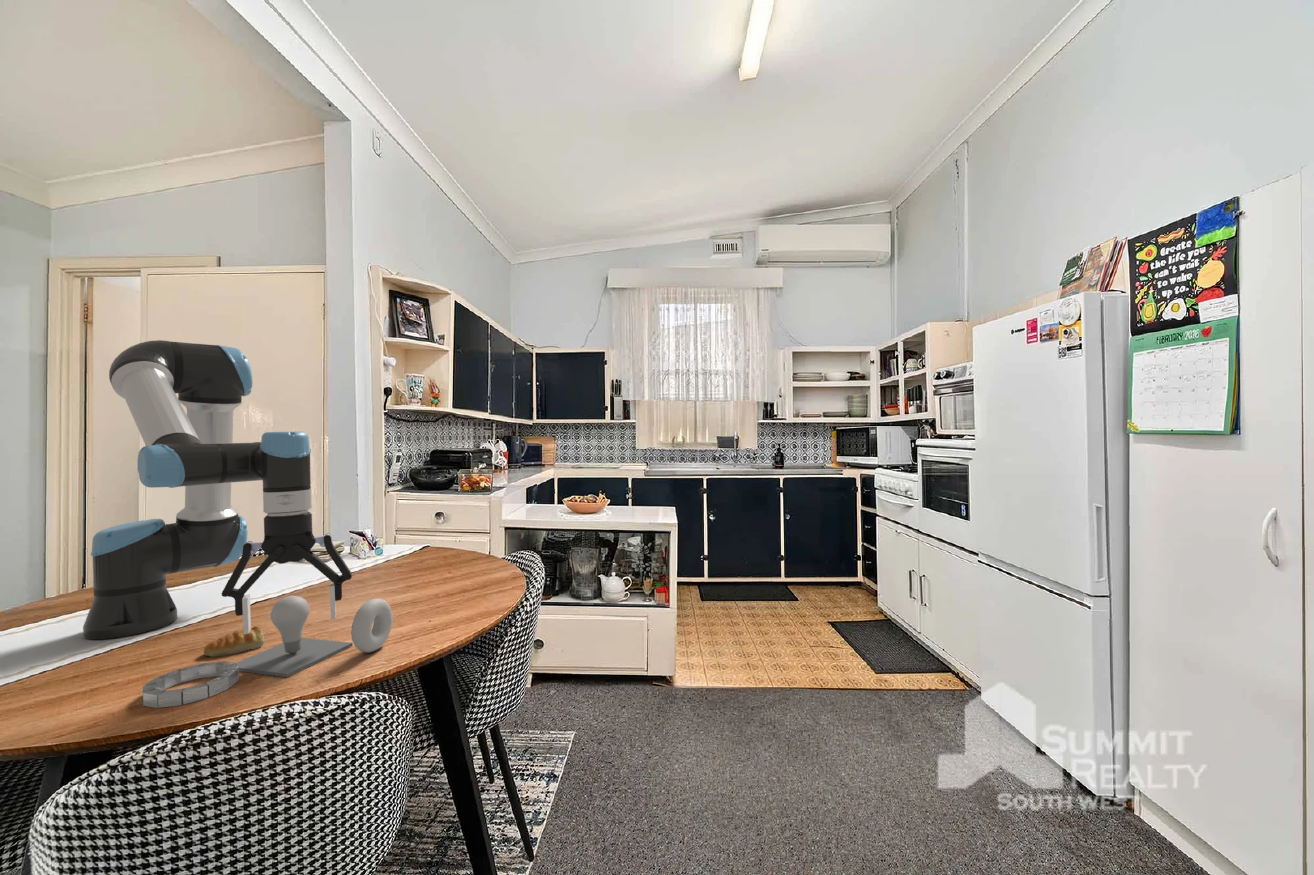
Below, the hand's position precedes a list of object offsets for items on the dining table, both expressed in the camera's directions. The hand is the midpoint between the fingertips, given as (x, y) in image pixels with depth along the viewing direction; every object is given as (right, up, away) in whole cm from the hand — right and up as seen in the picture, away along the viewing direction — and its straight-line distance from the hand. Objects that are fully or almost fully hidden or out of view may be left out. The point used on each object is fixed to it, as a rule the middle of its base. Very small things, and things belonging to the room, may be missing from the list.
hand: (291, 624), depth 102 cm
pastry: (-14, -7, +5) cm, 16 cm away
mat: (0, -6, 0) cm, 6 cm away
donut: (+14, -6, +2) cm, 16 cm away
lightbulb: (0, -6, 0) cm, 6 cm away
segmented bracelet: (-8, -7, -12) cm, 16 cm away
